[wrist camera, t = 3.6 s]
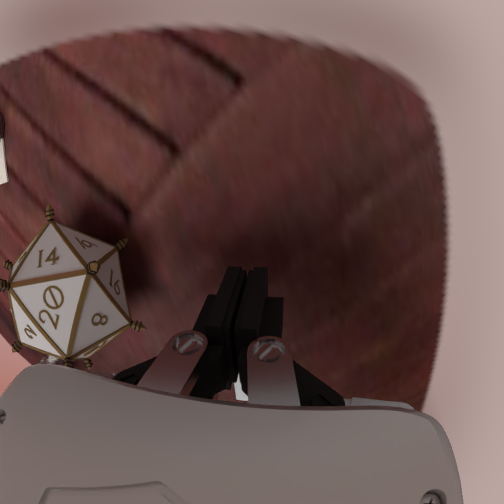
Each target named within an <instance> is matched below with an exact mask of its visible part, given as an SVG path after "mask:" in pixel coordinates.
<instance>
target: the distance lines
mask: <svg viewBox="0 0 504 504" xmlns="http://www.w3.org/2000/svg"><path fill="white" fill-rule="evenodd" d="M8 181H9V178H8V172H7V165H6V157H5V147H4V138H2V139H1V142H0V184H2V183H5V182H8ZM10 310H11V309H10ZM11 312H12V311H11ZM234 385H235V392H236V399H237V400H245V401H248V396H247V395H246V394H245V393H244V392H243V391H242V388H241V383H240V379H239V374H238V379H237V382H236V383H234Z"/></svg>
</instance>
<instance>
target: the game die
mask: <svg viewBox="0 0 504 504" xmlns="http://www.w3.org/2000/svg"><path fill="white" fill-rule="evenodd" d="M45 212H46V217H47V219H48V222H47V223H46V224H45V225H44V227H43V228H42V229H41V230H40V231H39V232H38V234H37V235H36V236H35V237H34V238H33V240H32V241H31V242H30V243H29V245H28V246H27V247H26V248H25V250H24V251H23V252H22V254H21V255H20V256H19V257H18V259H17V260H16V261H15V263H14V264H12V262H10V261H9V260H8V261H5V262H3V264H4V268H6V269H8V270H9V271H10V270H11V272H10V276H9V280H8V282H6V280H3V279H0V291H3V292H4V291H5V290H7V291H8V296H9V301H10V306H11V311H12V316H13V320H14V324H15V328H16V332H17V336H18V339H19V340H18V341H17V342H14V344H12V346H13V347H12V352H19V350H21V346H22V345H24V346H27V347H29V348H32V349H34V350H37V351H40V352H42V353H45V354H48V355H51V356H54V357H56V358H59V359H62V360H65V361H64V363H63V365H64V366H66V367H70V368H74V367H73V362H72V361H73V360H83V359H84V361H83V362H84V365H85V367H86V368H88V369H90V370H91V366H92V364H93V363H91V360H90V359H89V357H90V356H92V355H93V354H94V353H95V352H97V351H98V350H99V349H101V348H102V347H103V346H105V345H106V344H107V343H109V342H110V341H111V340H113V339H114V338H115V337H117V336H118V335H119V334H121V333H122V332H123V331H124V330H126V329H127V328H128V327H133V328H134V330H135V329H136V330H138V332H139V331H141V330H145V329H147V328H146V327H145V326H144V325H143V324H142V322H141V323H140V322H138V321H132V319H131V315H130V310H129V306H128V301H127V296H126V291H125V286H124V281H123V276H122V270H121V264H120V258H119V252H118V251H119V250H120V249H123V248H124V247H126V244H127V241H128V238H127V239H120V241H119V242H117V244H116V245H115V246H113V245H111V244H109V243H106V242H104V241H101V240H99V239H96V238H94V237H92V236H89V235H87V234H84V233H82V232H80V231H77V230H75V229H73V228H70V227H68V226H66V225H63V224H61V223H59V222H57V221H54V219H53V217H54V209H53V208H52V207H51V205H50V204H48V206H47V209H46V211H45Z"/></svg>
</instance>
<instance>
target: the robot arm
mask: <svg viewBox="0 0 504 504" xmlns="http://www.w3.org/2000/svg"><path fill="white" fill-rule="evenodd" d="M283 301H284V297H268V270H267V267H254V270H249V274H248V277H247V274H246V270H242V267H233V266H228V268H227V271H226V273H225V276H224V278H223V281H222V283H221V285H220V288H219V290H218V293H217V295H211V294H210V295H208V296H207V298H206V301H205V303H204V305H203V307H202V310H201V312H200V314H199V316H198V319H197V321H196V323H195V325H194V328H193V330H188V331H182V332H179V333H177V334H176V335H174V336H173V337H172V338H171V339H170V340H169V341H168V343H167V344H166V345H165V347H164V348H163V350H162V351H161V352H160V354H159V355H158V356H157V357H154V358H152V359H150V360H147V361H145V362H143V363H140V364H138V365H136V366H133V367H131V368H128V369H126V370H124V371H122V372H120V373H118V374H117V375H115V374H114V373H111V372H94V371H81V370H78V369H74V368H70V367H66V366H61V365H53V364H38V365H32V366H29V367H27V368H25V369H24V370H23V371H21V372H20V373H19V374H18V375H17V376H16V377H15V379H14V380H13V381H12V382H11V383H10V385H9V386H8V387H7V389H6V390H5V391H4V392H3V394H2V395H1V397H0V504H463V496H462V489H461V482H460V477H459V473H458V469H457V464H456V460H455V457H454V453H453V450H452V447H451V445H450V442H449V439H448V437H447V435H446V433H445V431H444V429H443V428H442V426H441V425H440V424H439V422H438V421H437V420H436V419H434V418H433V417H431V416H429V415H427V414H425V413H422V412H419V411H416V410H414V409H413V407H411V406H410V405H408V404H406V403H402V402H392V401H381V400H372V399H364V398H356V397H352V399H351V400H350V399H343V398H342V396H341V395H340V394H339V393H337V392H336V391H335V390H333V389H332V388H330V387H329V386H327V385H326V384H325V383H323V382H322V381H321V380H319V379H318V378H316V377H315V376H314V375H312V374H311V373H310V372H308V371H307V370H306V369H304V368H303V367H301V366H300V365H299V364H297V363H296V362H295V361H293V360H292V355H291V349H290V347H289V344H288V343H287V342H286V341H285V340H283V339H282V328H283ZM238 374H239V379H240V383H241V388H242V391H243V392H244V393H245V394H246V395H247V396H248V403H238V402H229V401H220V400H218V396H219V395H218V393H219V392H221V391H222V390H224V389H227V390H230V389H231V385H232V382H233V383H236V382H237V379H238Z"/></svg>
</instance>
